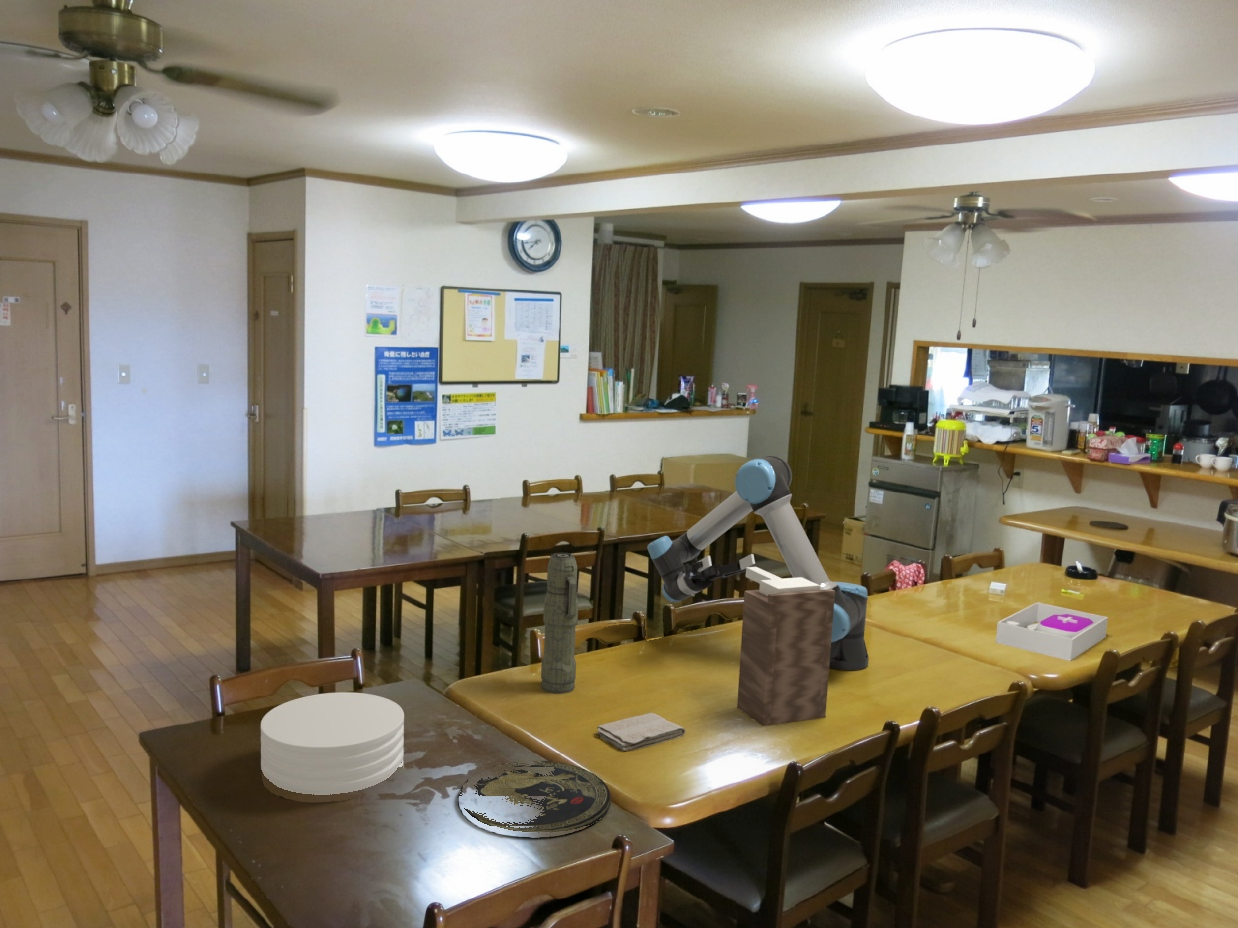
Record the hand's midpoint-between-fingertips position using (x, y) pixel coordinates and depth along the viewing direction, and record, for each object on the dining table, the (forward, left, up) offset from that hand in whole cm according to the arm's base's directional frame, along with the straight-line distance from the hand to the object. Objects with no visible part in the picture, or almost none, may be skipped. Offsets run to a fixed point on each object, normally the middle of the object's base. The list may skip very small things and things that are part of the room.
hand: (731, 559), depth 263 cm
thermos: (+47, -3, -32) cm, 57 cm away
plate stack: (+107, +26, -32) cm, 115 cm away
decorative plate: (+72, +52, -32) cm, 94 cm away
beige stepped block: (0, +22, -2) cm, 22 cm away
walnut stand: (0, +29, -32) cm, 43 cm away
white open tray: (-118, +4, -33) cm, 122 cm away
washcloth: (+40, +30, -33) cm, 59 cm away
